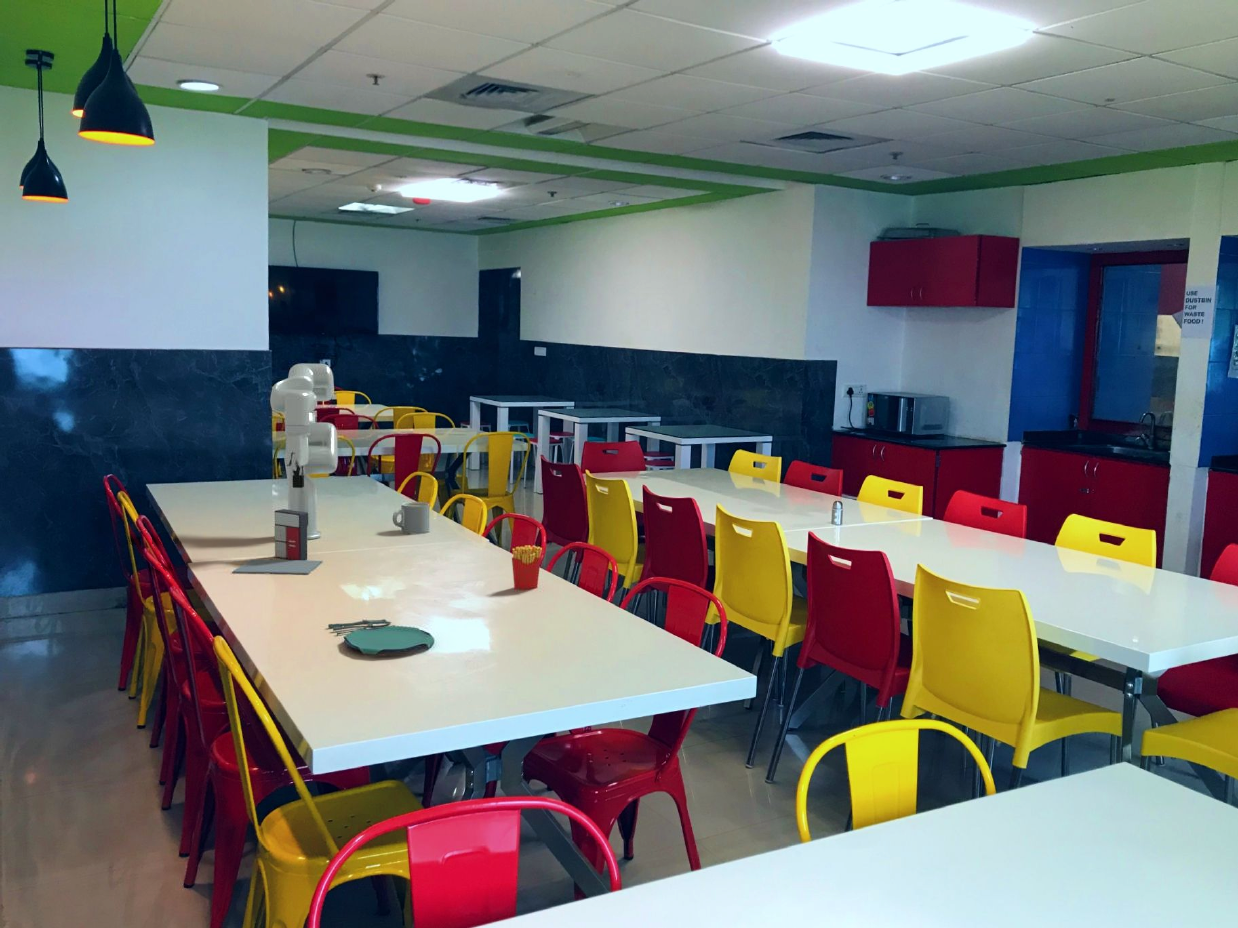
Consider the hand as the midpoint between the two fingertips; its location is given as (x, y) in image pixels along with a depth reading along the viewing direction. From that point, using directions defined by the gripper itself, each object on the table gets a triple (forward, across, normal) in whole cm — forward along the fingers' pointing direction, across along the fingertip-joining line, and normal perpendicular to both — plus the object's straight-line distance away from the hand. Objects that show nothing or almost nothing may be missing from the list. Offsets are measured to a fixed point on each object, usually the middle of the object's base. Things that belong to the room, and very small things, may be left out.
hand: (298, 487), depth 324 cm
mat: (+22, +21, 0) cm, 30 cm away
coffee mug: (+21, -39, +29) cm, 53 cm away
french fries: (+22, +39, +76) cm, 88 cm away
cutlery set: (+23, +90, +45) cm, 104 cm away
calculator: (+22, +8, 0) cm, 23 cm away
